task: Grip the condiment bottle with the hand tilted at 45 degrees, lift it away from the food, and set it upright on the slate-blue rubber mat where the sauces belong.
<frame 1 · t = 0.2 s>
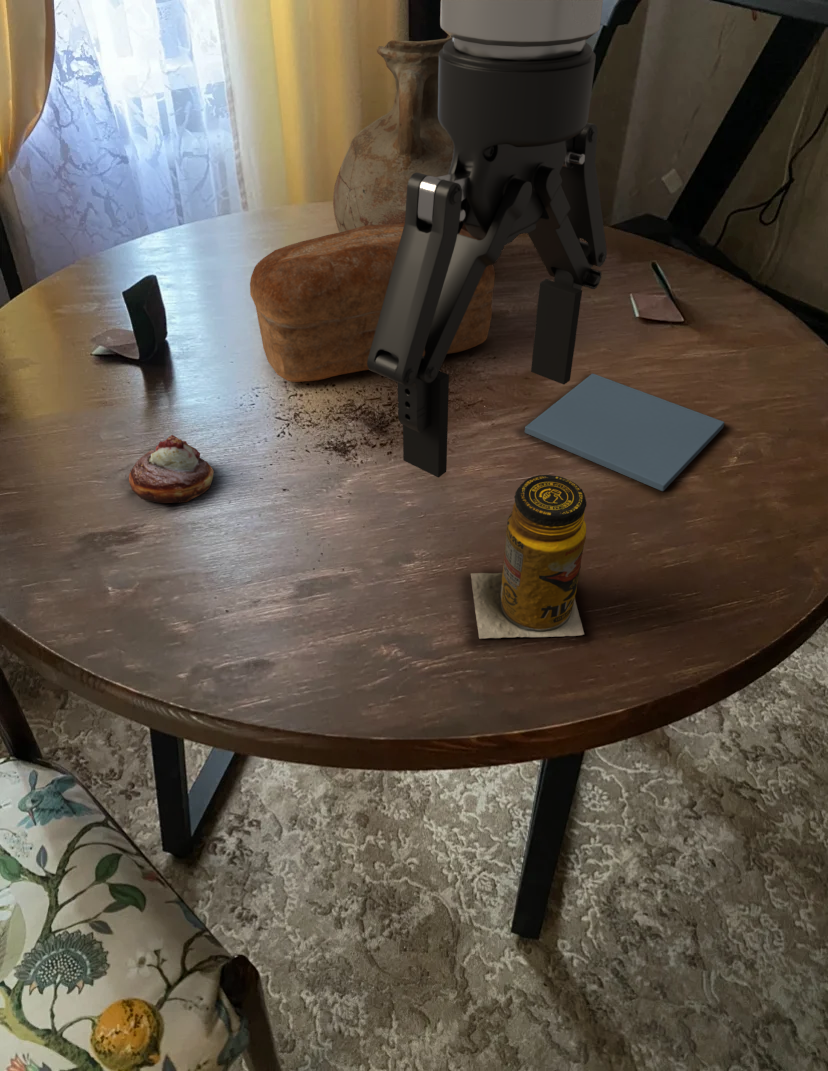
hand: (492, 418, 54), 21 cm above the table, tool pointing down, fingers open, 13 cm apart
jug: (416, 279, 117), on the table
bread: (376, 352, 102), on the table
condiment: (525, 606, 70), on the table
sauce mat: (624, 430, 89), on the table
pastry: (173, 485, 82), on the table
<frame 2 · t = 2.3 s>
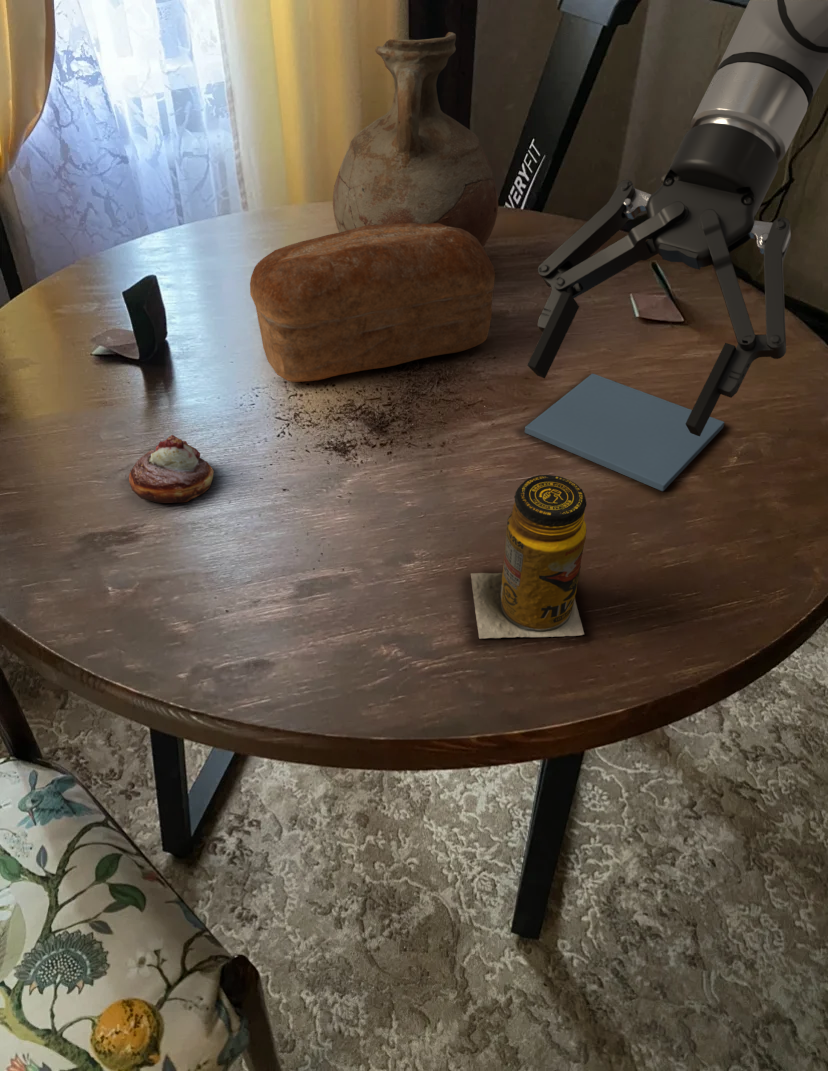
hand: (610, 400, 66), 15 cm above the table, tool tilted 45°, fingers open, 13 cm apart
nothing on the table moved.
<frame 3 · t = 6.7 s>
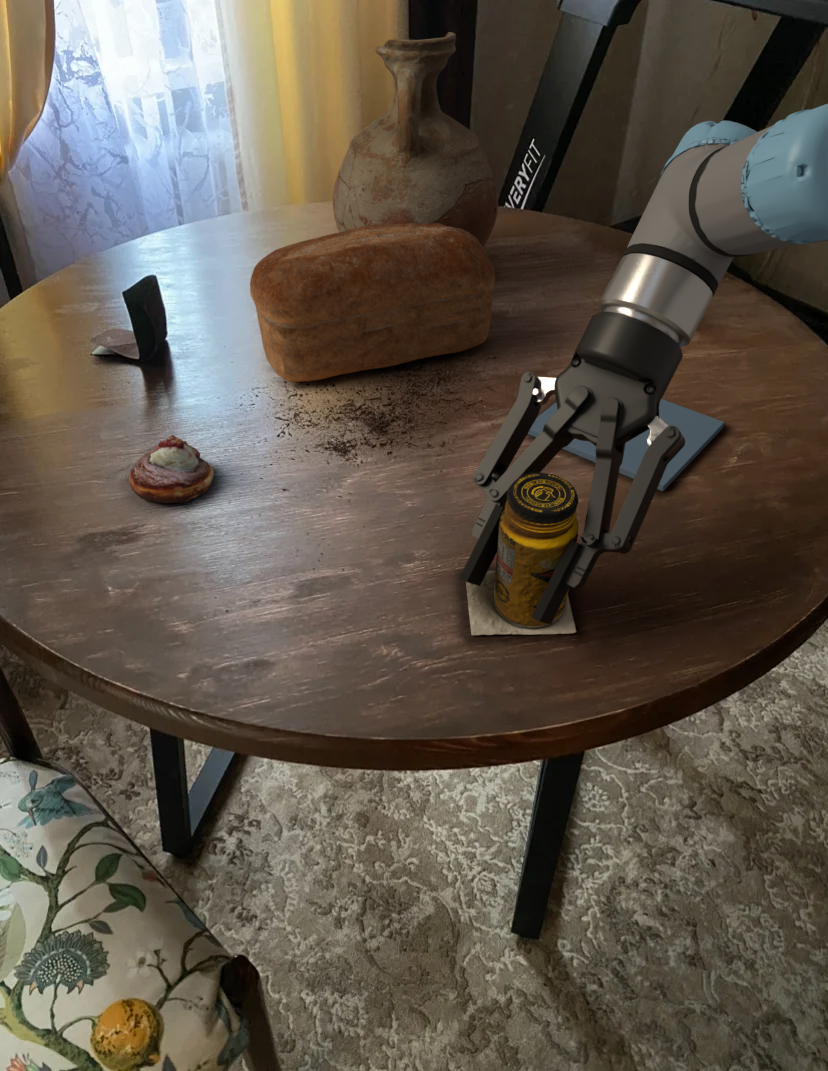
hand: (504, 600, 65), 4 cm above the table, tool tilted 45°, fingers closed on condiment, 6 cm apart
condiment: (518, 604, 70), on the table, touching gripper
everything else where it was.
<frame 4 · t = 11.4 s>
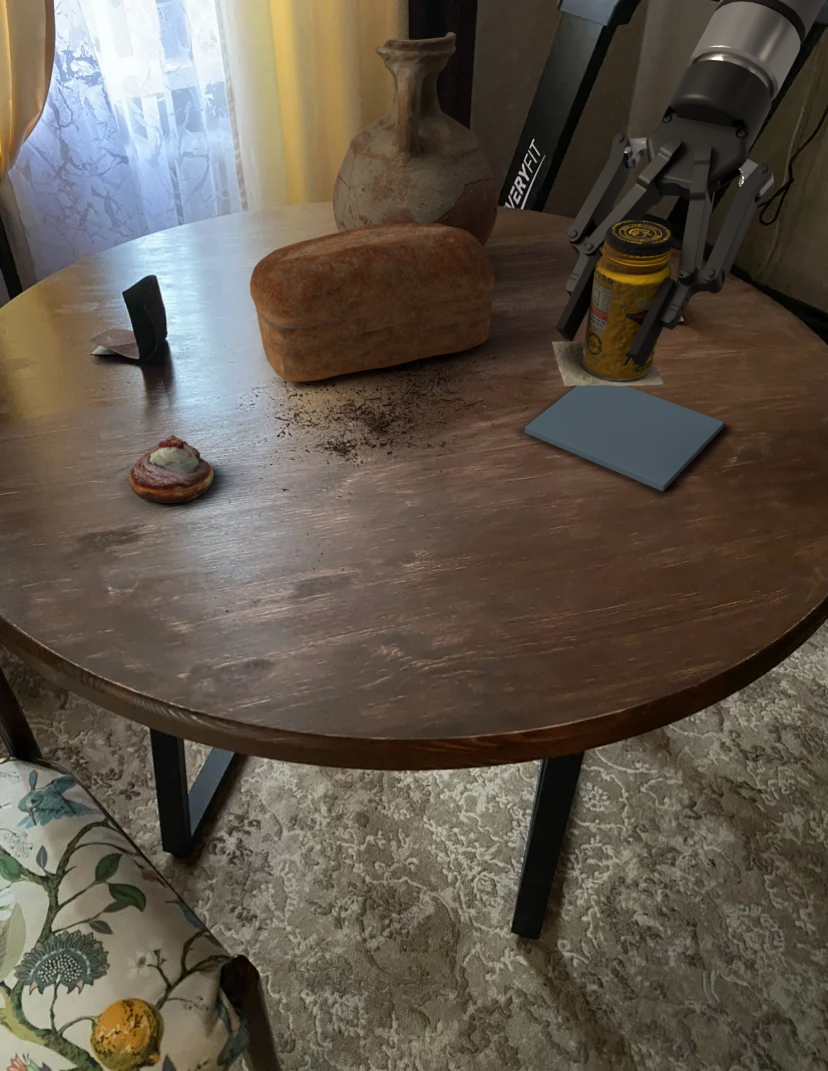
hand: (599, 346, 69), 17 cm above the table, tool tilted 45°, fingers closed on condiment, 6 cm apart
condiment: (605, 366, 74), point 13 cm above the table, touching gripper
everything else where it was.
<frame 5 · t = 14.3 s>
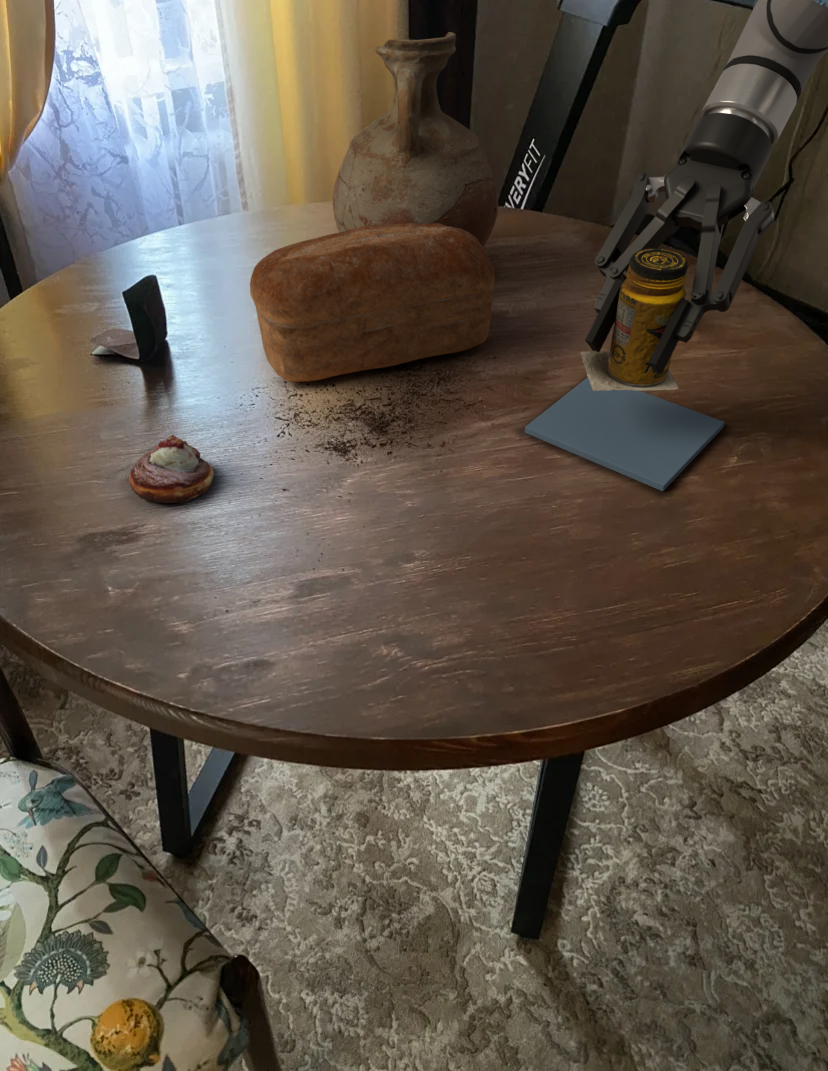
hand: (623, 356, 80), 10 cm above the table, tool tilted 45°, fingers closed on condiment, 6 cm apart
condiment: (627, 373, 85), point 7 cm above the table, touching gripper
everything else where it was.
when the fingers open (4 cm above the table, at t = 16.3 s): condiment stays where it is, resting on sauce mat.
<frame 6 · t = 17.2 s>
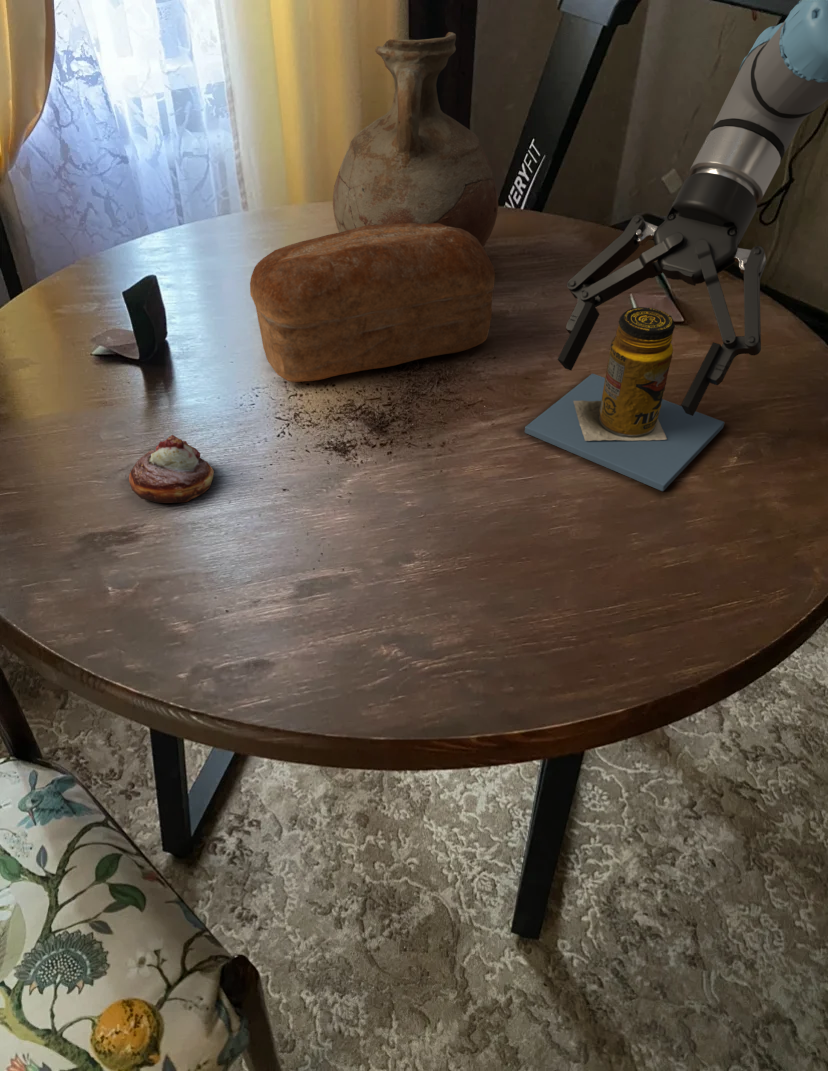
hand: (623, 387, 83), 6 cm above the table, tool tilted 45°, fingers open, 13 cm apart
condiment: (618, 423, 89), point 1 cm above the table, touching sauce mat
everything else where it was.
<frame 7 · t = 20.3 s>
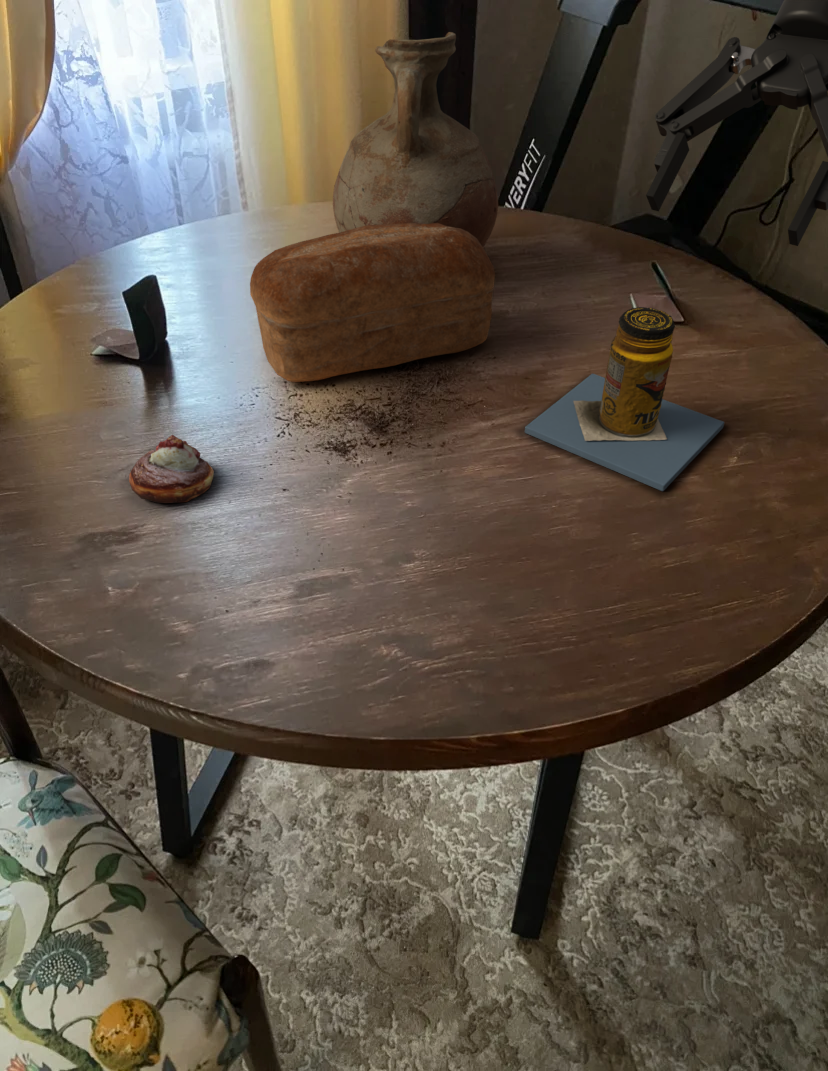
hand: (719, 220, 77), 21 cm above the table, tool tilted 45°, fingers open, 13 cm apart
nothing on the table moved.
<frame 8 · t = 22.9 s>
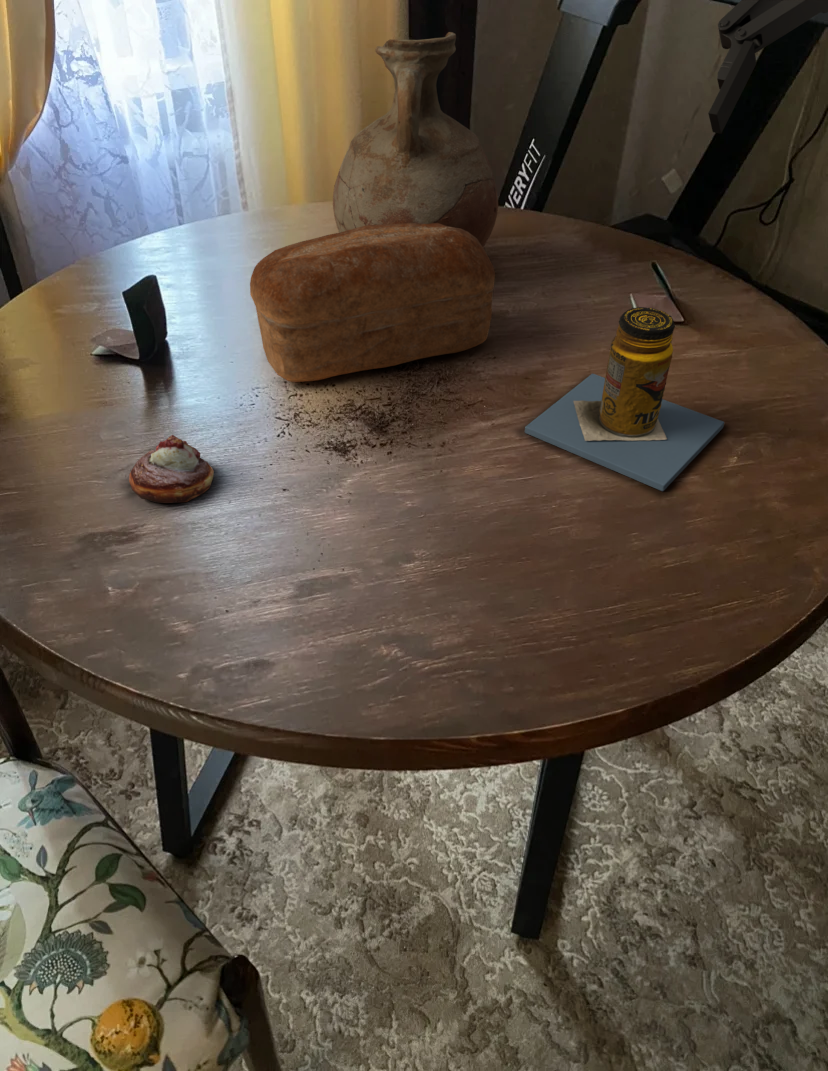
hand: (794, 139, 68), 30 cm above the table, tool tilted 45°, fingers open, 13 cm apart
nothing on the table moved.
at the end: condiment inside the target area on the sauce mat (0.8 cm from its centre), point 0.6 cm above the sauce mat's base; condiment tilted 0°; the gripper is holding nothing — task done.
